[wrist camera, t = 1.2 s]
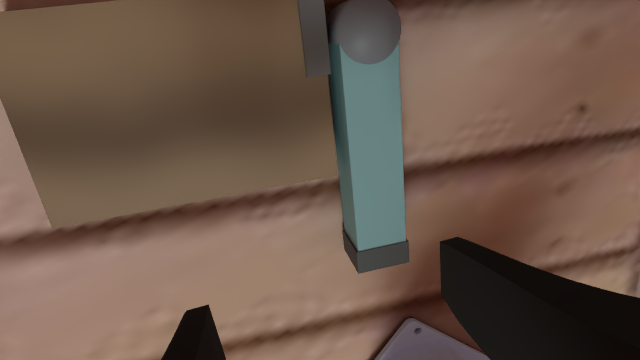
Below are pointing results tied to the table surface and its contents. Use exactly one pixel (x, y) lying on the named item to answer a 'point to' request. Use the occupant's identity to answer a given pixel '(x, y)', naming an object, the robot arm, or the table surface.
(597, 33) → the table surface
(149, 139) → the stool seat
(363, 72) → the stool leg
